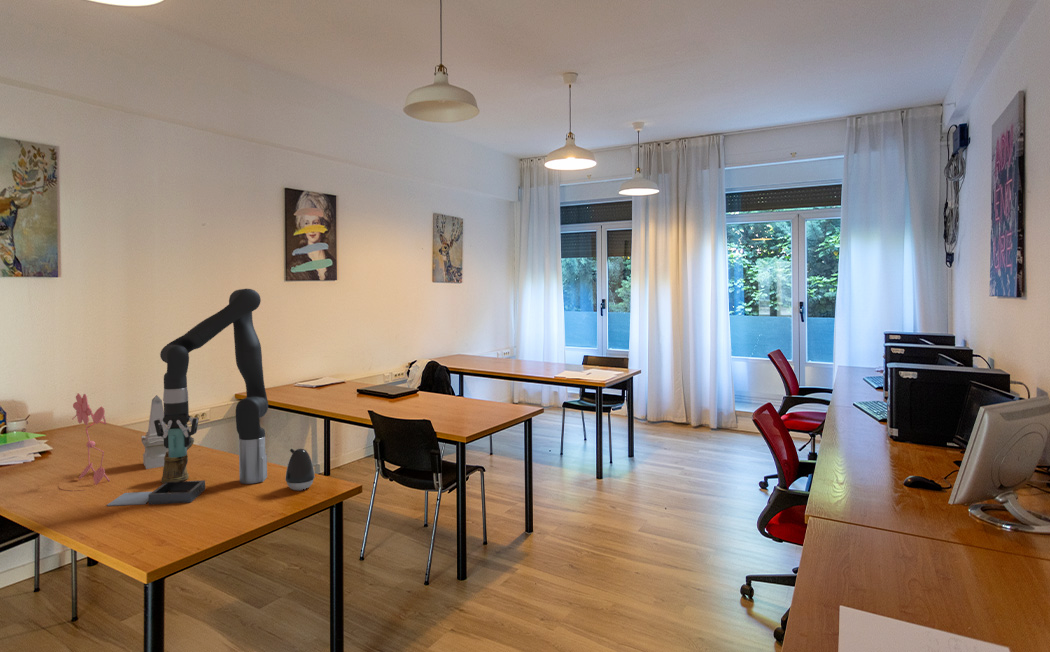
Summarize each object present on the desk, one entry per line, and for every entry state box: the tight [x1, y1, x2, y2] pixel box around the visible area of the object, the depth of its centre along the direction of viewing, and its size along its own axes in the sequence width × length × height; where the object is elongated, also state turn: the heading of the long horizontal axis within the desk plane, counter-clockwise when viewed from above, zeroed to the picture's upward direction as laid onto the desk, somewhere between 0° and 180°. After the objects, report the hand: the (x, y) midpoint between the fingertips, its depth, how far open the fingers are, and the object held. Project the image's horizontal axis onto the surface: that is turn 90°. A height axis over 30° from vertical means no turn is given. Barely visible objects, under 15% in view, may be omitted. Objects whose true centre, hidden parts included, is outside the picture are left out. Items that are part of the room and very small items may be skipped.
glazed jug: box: [168, 427, 188, 458], centre depth 199 cm, size 9×6×10 cm, turn 11°
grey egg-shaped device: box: [285, 448, 316, 491], centre depth 211 cm, size 10×10×15 cm
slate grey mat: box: [106, 491, 153, 507], centre depth 198 cm, size 12×12×1 cm
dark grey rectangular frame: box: [148, 479, 206, 506], centre depth 201 cm, size 13×13×4 cm
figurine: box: [59, 393, 110, 492], centre depth 212 cm, size 15×26×35 cm, turn 59°
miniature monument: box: [140, 394, 168, 470], centre depth 238 cm, size 10×10×30 cm
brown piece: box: [160, 436, 195, 484], centre depth 218 cm, size 9×14×18 cm, turn 69°
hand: (177, 447), depth 200 cm, fingers closed on glazed jug, 5 cm apart
